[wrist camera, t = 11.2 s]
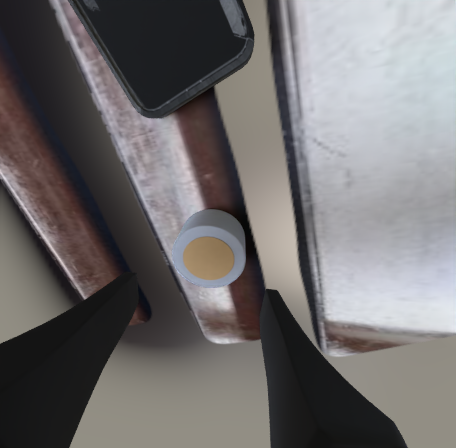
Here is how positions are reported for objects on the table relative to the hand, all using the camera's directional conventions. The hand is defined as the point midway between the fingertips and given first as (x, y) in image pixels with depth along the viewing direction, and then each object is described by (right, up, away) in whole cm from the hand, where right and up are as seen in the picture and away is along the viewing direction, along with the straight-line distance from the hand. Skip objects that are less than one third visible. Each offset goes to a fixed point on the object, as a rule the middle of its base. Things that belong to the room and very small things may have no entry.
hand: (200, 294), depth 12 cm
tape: (0, +3, +6) cm, 6 cm away
